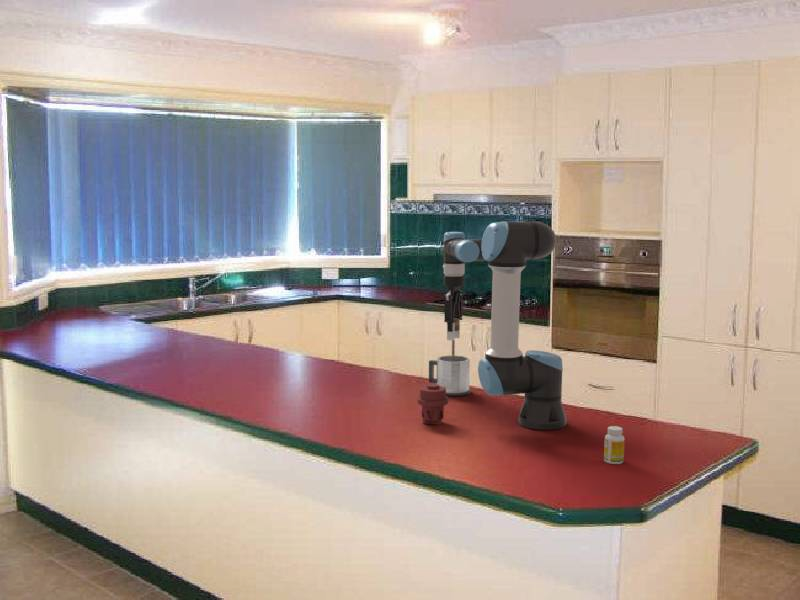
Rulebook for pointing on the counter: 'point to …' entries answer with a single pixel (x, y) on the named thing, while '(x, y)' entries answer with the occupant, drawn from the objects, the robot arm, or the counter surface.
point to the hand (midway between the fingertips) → (453, 338)
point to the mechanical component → (432, 403)
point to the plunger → (457, 325)
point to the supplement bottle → (614, 445)
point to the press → (451, 374)
